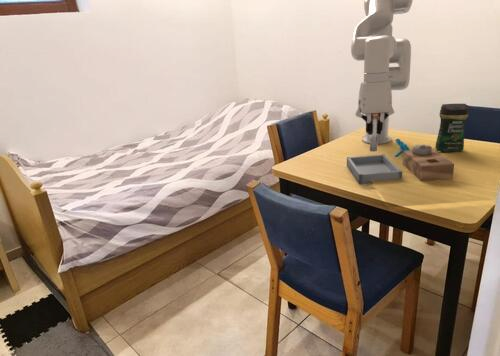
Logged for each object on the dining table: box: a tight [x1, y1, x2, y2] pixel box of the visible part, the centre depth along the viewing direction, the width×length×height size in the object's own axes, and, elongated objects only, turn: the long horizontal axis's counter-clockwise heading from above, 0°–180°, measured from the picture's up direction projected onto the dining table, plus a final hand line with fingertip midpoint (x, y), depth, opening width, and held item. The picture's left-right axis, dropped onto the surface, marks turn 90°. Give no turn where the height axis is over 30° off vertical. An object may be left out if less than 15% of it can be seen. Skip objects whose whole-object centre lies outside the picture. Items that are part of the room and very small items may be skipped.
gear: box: [394, 138, 411, 158], centre depth 141 cm, size 11×6×10 cm
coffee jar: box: [434, 103, 469, 154], centre depth 140 cm, size 10×8×19 cm
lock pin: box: [369, 113, 379, 152], centre depth 124 cm, size 3×3×13 cm
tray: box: [346, 153, 403, 185], centre depth 129 cm, size 18×14×4 cm
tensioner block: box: [402, 144, 455, 182], centre depth 124 cm, size 16×10×9 cm, turn 179°
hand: (373, 133), depth 124 cm, fingers closed on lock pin, 2 cm apart
